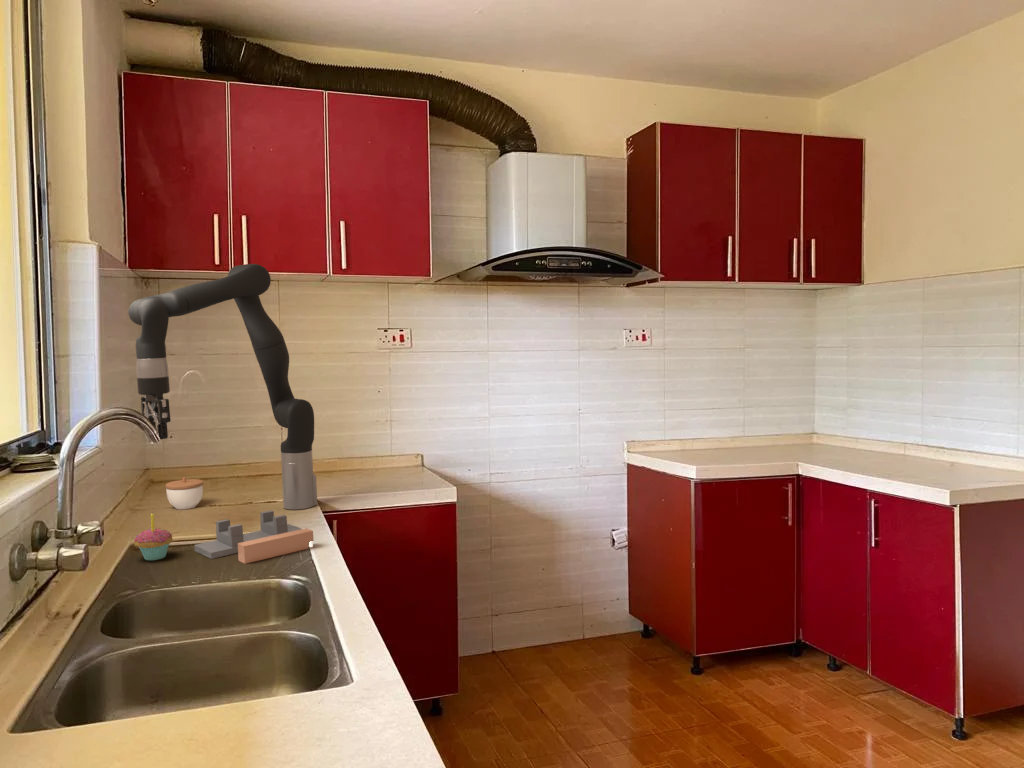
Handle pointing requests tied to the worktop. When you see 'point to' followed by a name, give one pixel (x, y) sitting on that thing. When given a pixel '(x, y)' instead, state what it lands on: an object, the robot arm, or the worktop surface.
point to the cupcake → (153, 542)
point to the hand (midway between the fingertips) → (157, 437)
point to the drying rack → (242, 535)
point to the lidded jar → (184, 493)
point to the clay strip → (274, 545)
